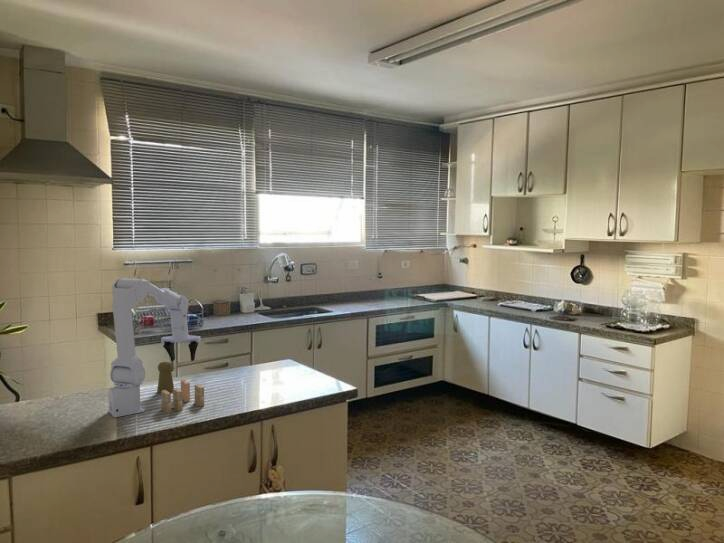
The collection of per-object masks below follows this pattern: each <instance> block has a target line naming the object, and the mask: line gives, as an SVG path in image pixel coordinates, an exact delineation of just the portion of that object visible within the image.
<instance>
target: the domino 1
mask: <svg viewBox="0 0 724 543" xmlns="http://www.w3.org/2000/svg"><path fill="white" fill-rule="evenodd" d="M160 395H161V410H162V411H163V412H164V413H165V414H167V413H168V414H171V413H172V398H171V396H172V393H169V392H168V391H166V390H162V391H161V394H160Z"/></svg>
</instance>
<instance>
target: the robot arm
mask: <svg viewBox="0 0 724 543" xmlns="http://www.w3.org/2000/svg"><path fill="white" fill-rule="evenodd" d="M111 290H112V291H111V292H112V316H113V323H114V324H113V325H114V333H115V343H116V344H115V345H116V352H117V354H116V355H117V357H116V358H115V359H114V360H112V362H111V363H110V365H111V366H110V372H109V377H110V378H109V379H110V380H111V382H113V386H112V387H109V388H108V391H107V392H108V393H107V394H108V395H107V397H108V399H107V400H108V402H107V403H108V405H107V406H108V409H107V411H108V413H109V414H110V415H111V416H112V417H113V418H119V417H123V416H130V415H133V414H134V415H135V414H140V413H144V412H145V409H144V408H142V407H141V385H142V384H143V382H144V380H145V377H146V369H145V367H144V365H143V361H142V360H141V359H140V358H139V357H138V356H137V353H136V344H135V343H136V342H135V334H134V321H133V312H132V311H133V307H135V306H137V305H138V304H139V303H140V302H142V300H144V299H145V298H146V297H147V296H151V297H152V298H154V300H155V301H156V302H157V303H158V304H159V305H160V304H161V305H162V306H164V307H165V308H166V310H169V316H170V324H171V326H170V327H171V334H172V335H170V336H168V335H167V336H162V337H161V338H160V342H161V344H163V349H164V350H166V352H167V354H168V357H169V358H170V362H174V361H175V360H176V354H175V343H189V344H188V345H187V346H188V349H189V353H190V355H189V356H190V361H191V362H194V361H195V360H196V358H195V357H196V352H197V348H198V345H199V343H200V342H201V341H202V337H201V335H192V334H189V328H188V317H187V314H188V311H189V310H188V308H189V304H190V301H189V300H188V298H187V297H186V296H185V295H181V294H178V292H177V291H172V290H170V288H169V287H160V288H159V287H158V286H157V285H154V284H153V283H151V281H150V280H148V279H147V280H146V279H145V278H125V277H119V278H117V279H116V280H115V282H114V283H113V284H112V285H111Z"/></svg>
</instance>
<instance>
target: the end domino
mask: <svg viewBox="0 0 724 543" xmlns="http://www.w3.org/2000/svg"><path fill="white" fill-rule="evenodd" d="M195 403H196V404H195ZM194 404H195V405H197V404H198V405H199V406H198V405H197V406H198V407H200V406H202V407H205V387H204V386H203V385H201V384H199V383H198V384H197V383H196V384H194Z"/></svg>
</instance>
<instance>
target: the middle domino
mask: <svg viewBox="0 0 724 543" xmlns="http://www.w3.org/2000/svg"><path fill="white" fill-rule="evenodd" d="M173 407H174V408H173ZM172 408H173V409H175V411H177V410H178V411H177V412H181V410H182V411H183V399H182V391H181V389H179V388H178V387H174V388H173V393H172Z"/></svg>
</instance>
